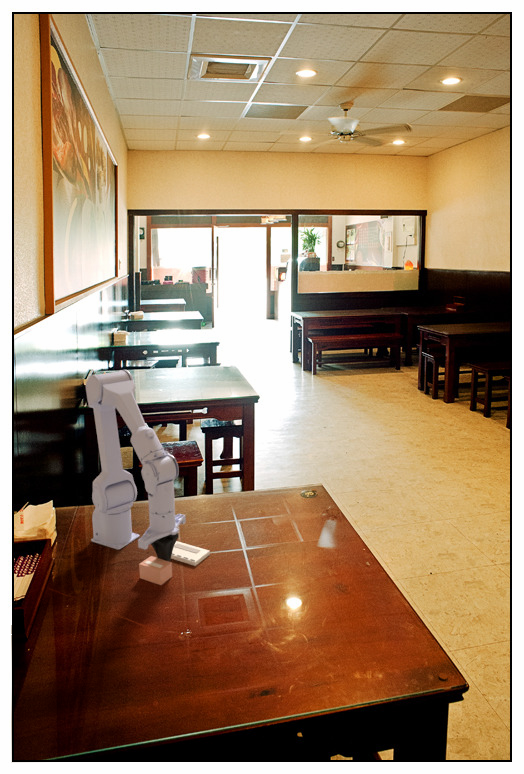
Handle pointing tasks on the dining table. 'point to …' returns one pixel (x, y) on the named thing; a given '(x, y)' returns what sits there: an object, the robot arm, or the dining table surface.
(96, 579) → the dining table surface
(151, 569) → the pink rectangular block
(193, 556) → the white slotted panel
